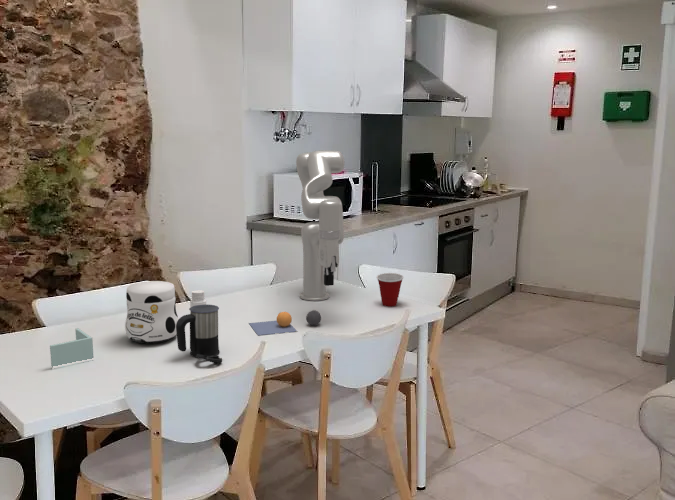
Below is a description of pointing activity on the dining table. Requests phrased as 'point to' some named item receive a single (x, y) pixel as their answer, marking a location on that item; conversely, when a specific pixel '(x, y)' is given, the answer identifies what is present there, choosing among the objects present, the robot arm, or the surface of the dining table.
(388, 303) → the plastic cup
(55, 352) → the right angle wall
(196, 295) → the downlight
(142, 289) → the milk container
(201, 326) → the milk frother
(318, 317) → the gray ball
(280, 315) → the orange ball
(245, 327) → the dining table surface
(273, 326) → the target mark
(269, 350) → the dining table surface
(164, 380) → the dining table surface
